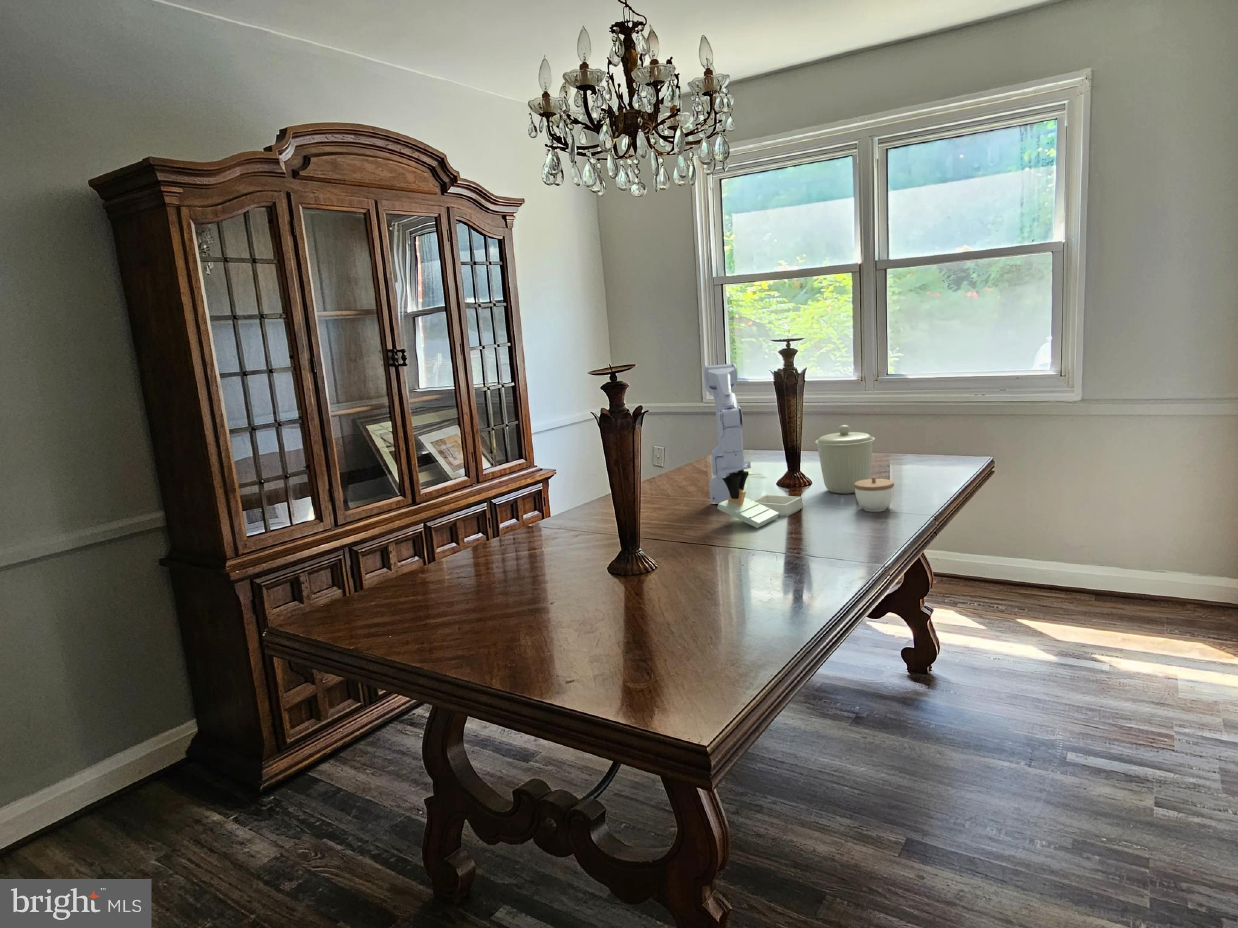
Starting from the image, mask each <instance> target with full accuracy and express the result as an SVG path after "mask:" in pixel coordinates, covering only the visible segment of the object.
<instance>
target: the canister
mask: <svg viewBox="0 0 1238 928" xmlns="http://www.w3.org/2000/svg"><path fill="white" fill-rule="evenodd" d="M850 428H851V427H850V426H849V425H847V424H842V425H840V426H838V430H837V431H838V432H836V433H835V432H834V433H833V432H832V433H829V434H825V435H822V436H820V437H819V438H818V439H816V440H815V441H814V443H815V444H816V445H817V449H818V450H817V452H818V456H819V463H820V468H821V472H822V479H823V483H824V486H825V488H826V490H827V491H829V492H830V493H834V494H841V495H843V494H845V495H847V494H855V487H854V483H855V482H857V481H860V480H866V479H871V475H872V474H871V472H872V461H873V459H872V457H873V445H874V444H873V443H874V441H875V440H876V438H875V437H874V436H871V435H870V434H869V433H866V432H857V431H851V429H850Z"/></svg>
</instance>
